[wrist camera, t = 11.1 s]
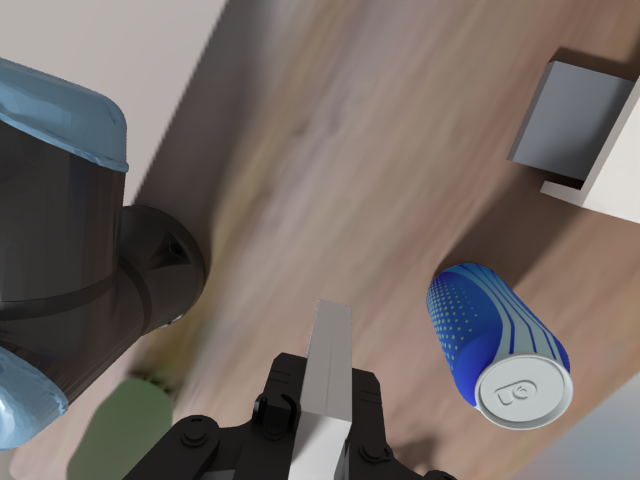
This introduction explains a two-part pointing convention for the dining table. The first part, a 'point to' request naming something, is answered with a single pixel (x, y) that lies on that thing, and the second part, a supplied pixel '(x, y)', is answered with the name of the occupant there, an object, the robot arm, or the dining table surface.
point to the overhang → (612, 169)
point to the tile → (569, 119)
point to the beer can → (498, 349)
